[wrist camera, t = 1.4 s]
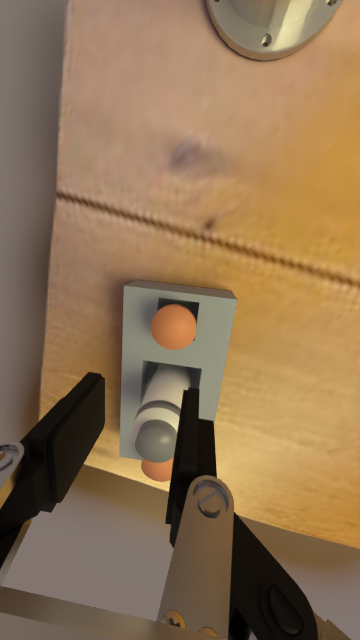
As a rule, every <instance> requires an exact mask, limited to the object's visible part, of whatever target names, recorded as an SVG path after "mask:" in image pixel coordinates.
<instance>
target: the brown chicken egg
mask: <svg viewBox="0 0 360 640" xmlns="http://www.w3.org/2000/svg"><path fill="white" fill-rule="evenodd" d="M151 333H152V336H153V338H154V340H155V341H156V342H157V343H158V344H159V345H160V346H162V347H164V348H166V349H170V350H179V349H182V348H185V347H186V346H188V345H189V344H190V343H191V342H192V341H193V339H194V337H195V334H196V320H195V317H194V315H193V314H192V312H191V310H190V308H189V307H188V306H187V305H186V304H184V303H182V302H175V303H173V304H170V305H166V306H164V307H162V308H161V309H159V310H158V311H157V313H156V314H155V315H154V317H153V319H152V321H151Z"/></svg>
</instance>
